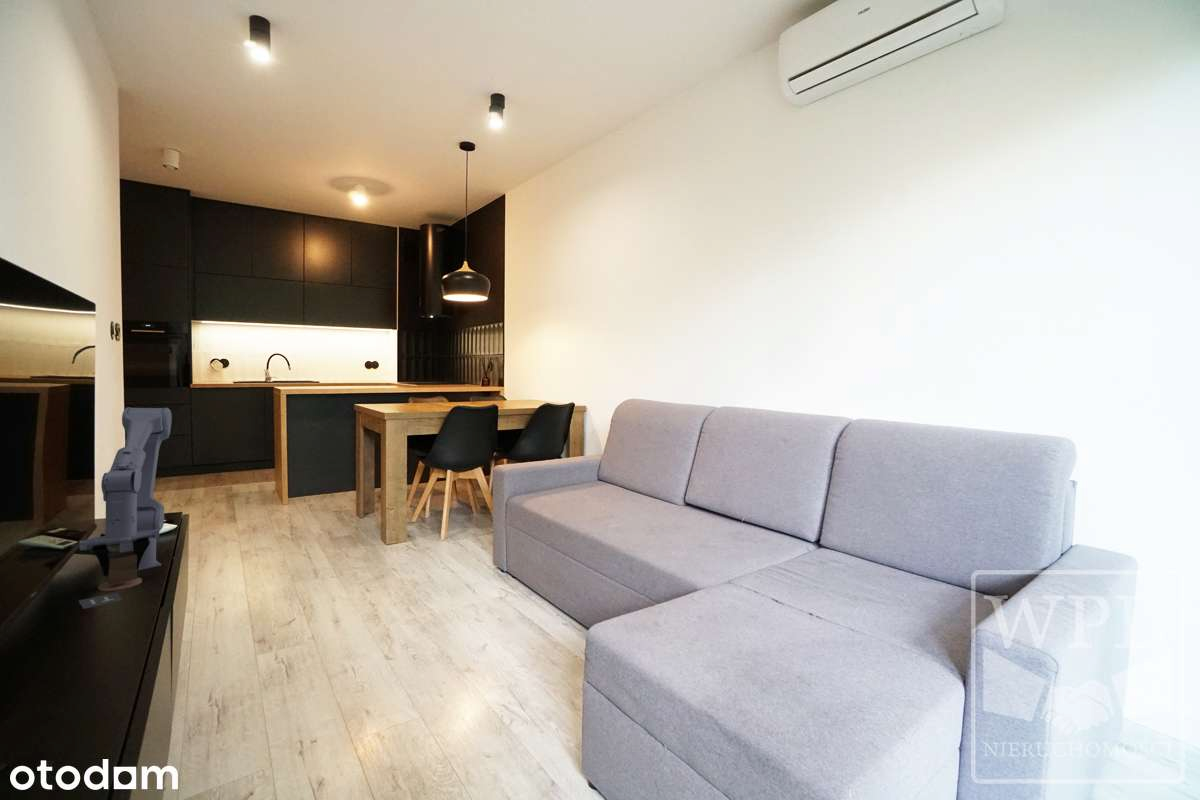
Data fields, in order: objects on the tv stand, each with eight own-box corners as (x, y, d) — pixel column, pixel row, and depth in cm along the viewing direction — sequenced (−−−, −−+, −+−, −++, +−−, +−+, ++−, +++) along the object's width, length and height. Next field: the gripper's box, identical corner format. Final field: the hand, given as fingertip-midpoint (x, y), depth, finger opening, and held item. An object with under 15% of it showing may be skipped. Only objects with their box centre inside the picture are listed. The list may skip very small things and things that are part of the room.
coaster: (95, 585, 128) (95, 583, 128) (137, 576, 135) (137, 574, 135) (102, 594, 124) (102, 592, 124) (145, 585, 130) (145, 582, 130)
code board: (72, 601, 120) (72, 600, 120) (119, 591, 126) (119, 590, 126) (79, 612, 114) (79, 611, 114) (127, 601, 121) (127, 599, 121)
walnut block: (105, 578, 129) (105, 555, 128) (131, 573, 133) (132, 550, 132) (109, 584, 126) (109, 560, 125) (136, 578, 130) (137, 555, 129)
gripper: (83, 526, 121) (83, 584, 121) (163, 515, 132) (162, 568, 133) (78, 521, 125) (77, 576, 125) (155, 510, 136) (154, 561, 137)
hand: (120, 571), depth 129 cm, fingers closed on walnut block, 5 cm apart
